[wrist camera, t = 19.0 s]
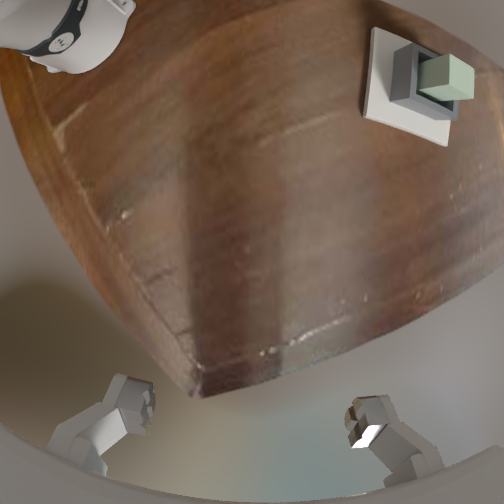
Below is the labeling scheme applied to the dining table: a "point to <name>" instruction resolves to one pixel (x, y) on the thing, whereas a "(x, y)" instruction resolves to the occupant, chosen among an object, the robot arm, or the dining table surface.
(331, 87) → the dining table surface
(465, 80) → the sage block
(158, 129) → the dining table surface
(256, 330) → the dining table surface
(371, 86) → the well stand
